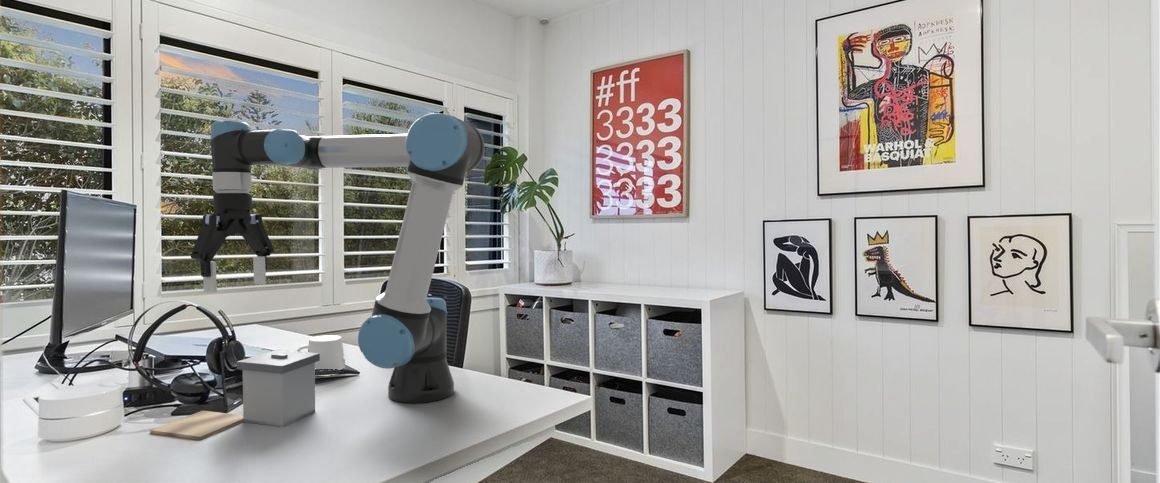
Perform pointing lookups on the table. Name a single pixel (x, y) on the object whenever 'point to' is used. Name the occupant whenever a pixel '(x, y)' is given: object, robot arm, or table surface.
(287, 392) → the storage cube
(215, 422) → the wooden square board
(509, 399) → the table surface
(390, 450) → the table surface
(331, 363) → the mug
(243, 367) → the lid
